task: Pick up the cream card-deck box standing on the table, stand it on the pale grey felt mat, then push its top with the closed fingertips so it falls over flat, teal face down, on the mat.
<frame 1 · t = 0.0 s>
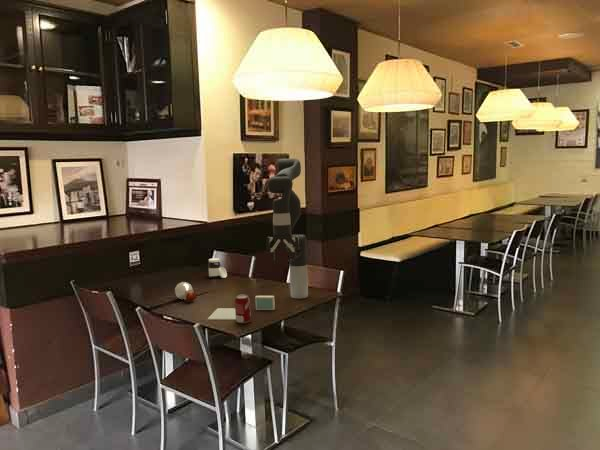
hand: (283, 260, 213), 29 cm above the table, fingers open, 8 cm apart
soda can: (243, 322, 223), on the table
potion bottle: (186, 300, 262), on the table
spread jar: (218, 277, 311), on the table
mat: (226, 314, 235), on the table
card deck: (265, 309, 241), on the table
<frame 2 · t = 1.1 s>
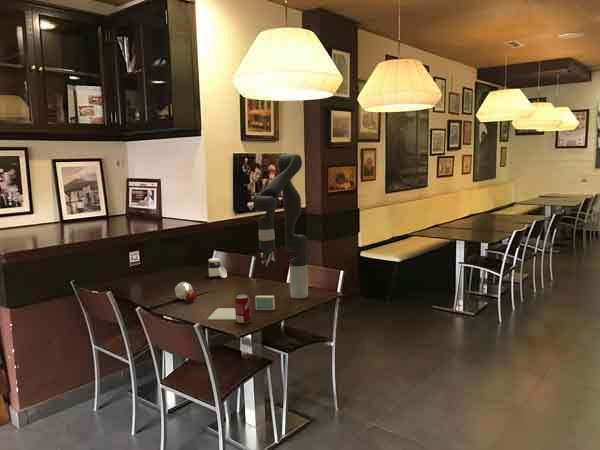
hand: (268, 271, 233), 20 cm above the table, fingers open, 8 cm apart
nothing on the table moved.
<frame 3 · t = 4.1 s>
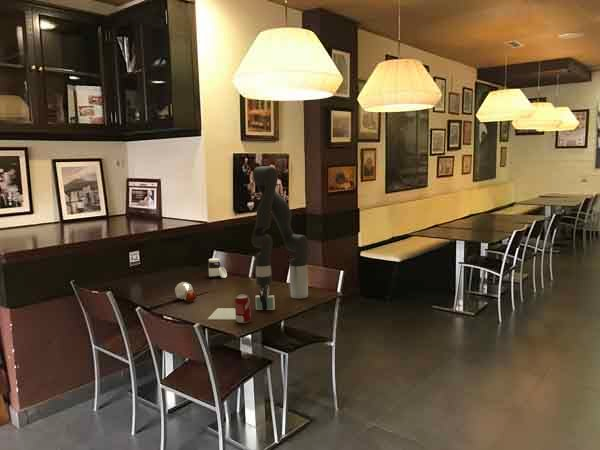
hand: (265, 308, 241), 0 cm above the table, fingers closed on card deck, 2 cm apart
card deck: (265, 308, 241), on the table, touching gripper
everything else where it was.
when the fingers open (2 cm above the table, at t = 9.0 s): card deck stays where it is, resting on mat.
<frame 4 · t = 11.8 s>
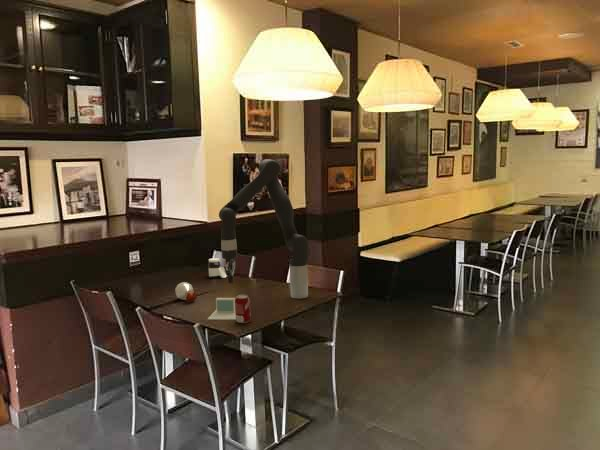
hand: (231, 282, 243), 13 cm above the table, fingers closed
card deck: (226, 311, 237), point 1 cm above the table, touching mat
everything else where it was.
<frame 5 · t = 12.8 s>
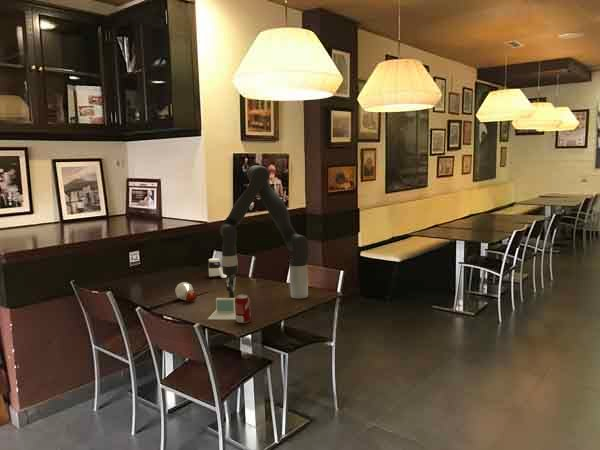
hand: (231, 298, 244), 5 cm above the table, fingers closed
nothing on the table moved.
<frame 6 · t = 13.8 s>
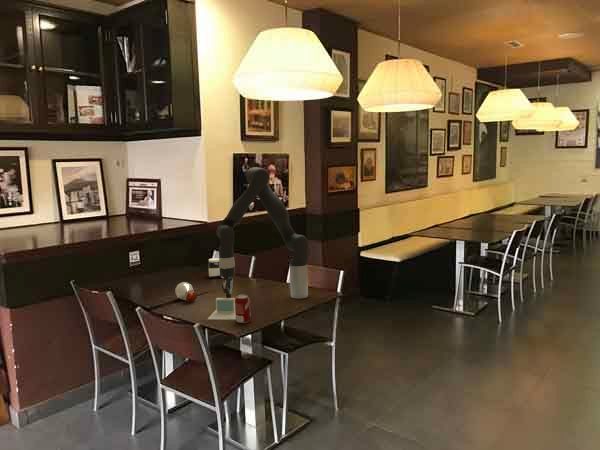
hand: (228, 300, 240), 5 cm above the table, fingers closed
card deck: (226, 311, 237), point 1 cm above the table, touching gripper, mat
everything else where it was.
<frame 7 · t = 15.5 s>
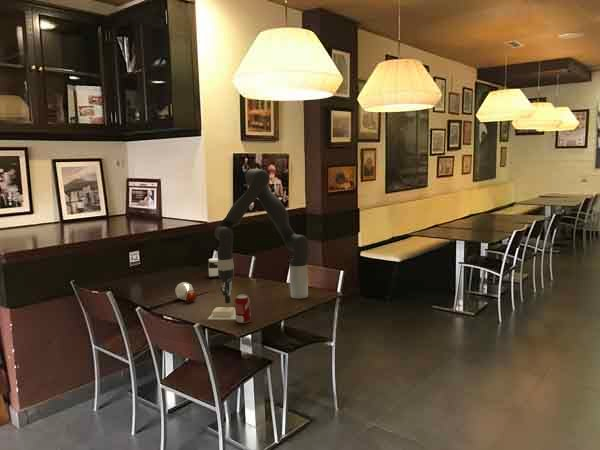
hand: (227, 302, 236), 5 cm above the table, fingers closed
card deck: (225, 309, 236), point 2 cm above the table, tilted 90°, touching mat
everything else where it was.
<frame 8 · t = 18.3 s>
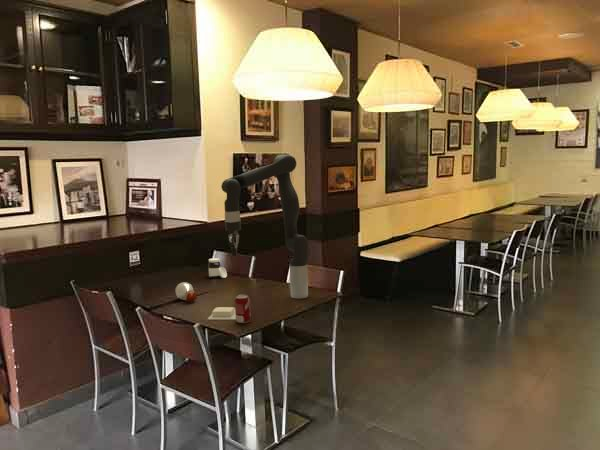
hand: (234, 255, 239), 27 cm above the table, fingers closed
nothing on the table moved.
at the end: card deck tilted 90°; card deck inside the target area on the mat (2.0 cm from its centre), point 1.9 cm above the mat's base; the gripper is holding nothing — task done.
